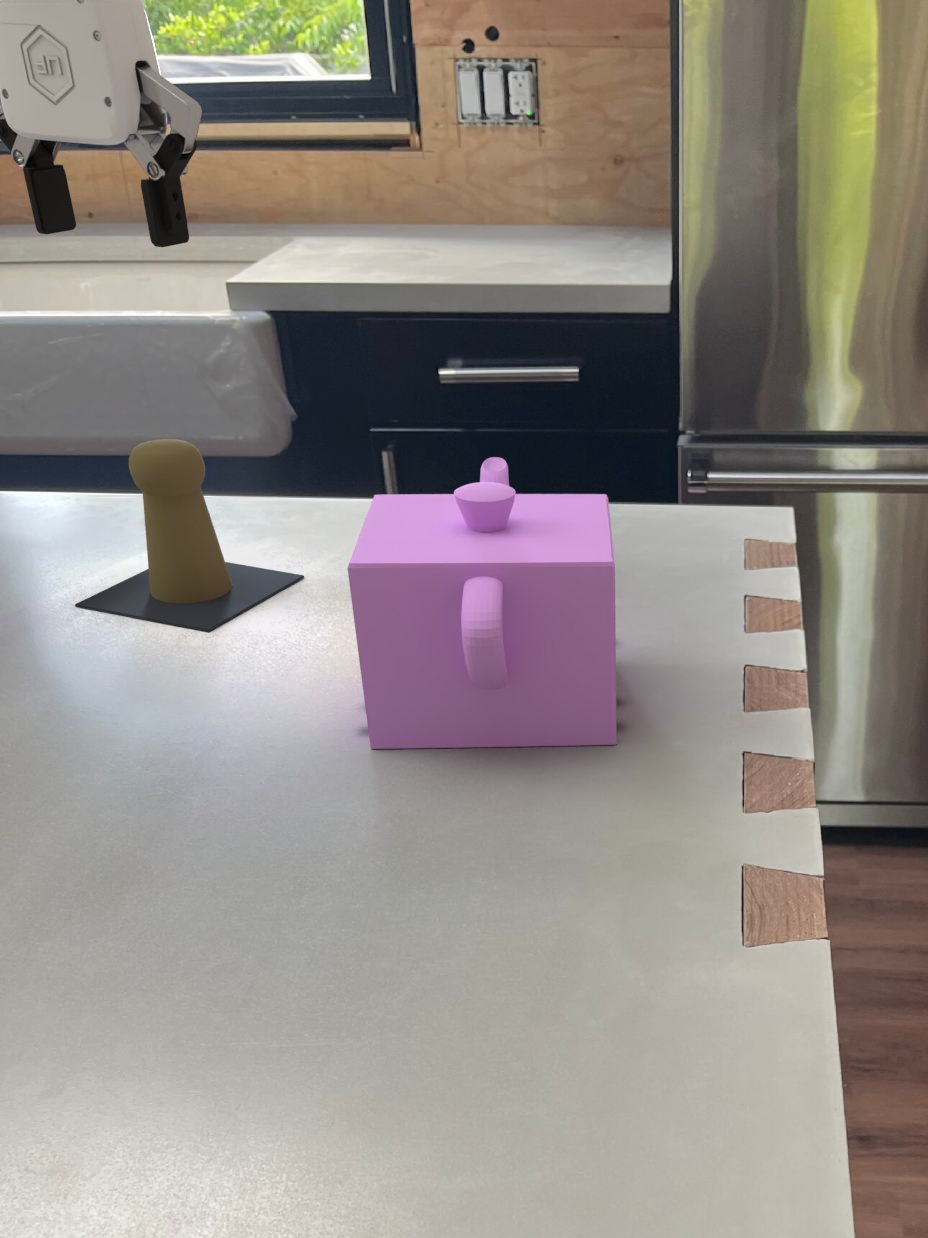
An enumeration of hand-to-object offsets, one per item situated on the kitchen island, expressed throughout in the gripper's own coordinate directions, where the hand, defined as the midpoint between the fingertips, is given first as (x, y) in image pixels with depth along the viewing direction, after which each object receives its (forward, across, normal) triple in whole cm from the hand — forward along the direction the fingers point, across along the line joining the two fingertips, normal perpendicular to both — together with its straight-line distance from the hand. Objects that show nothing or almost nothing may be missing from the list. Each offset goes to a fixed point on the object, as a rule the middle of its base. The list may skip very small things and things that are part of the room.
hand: (113, 238), depth 91 cm
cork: (+24, +4, -3) cm, 24 cm away
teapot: (+24, +34, -10) cm, 42 cm away
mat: (+24, +4, -3) cm, 24 cm away
